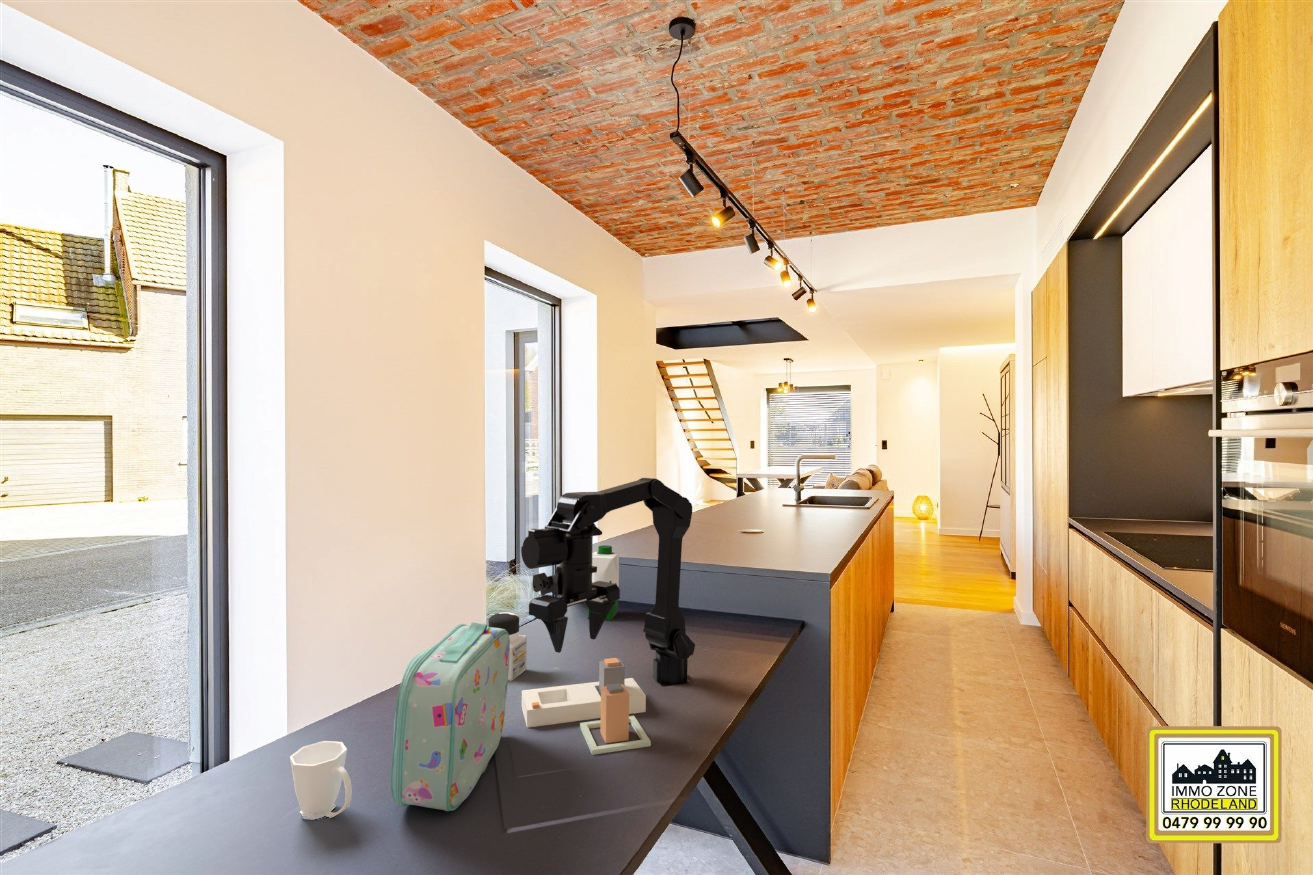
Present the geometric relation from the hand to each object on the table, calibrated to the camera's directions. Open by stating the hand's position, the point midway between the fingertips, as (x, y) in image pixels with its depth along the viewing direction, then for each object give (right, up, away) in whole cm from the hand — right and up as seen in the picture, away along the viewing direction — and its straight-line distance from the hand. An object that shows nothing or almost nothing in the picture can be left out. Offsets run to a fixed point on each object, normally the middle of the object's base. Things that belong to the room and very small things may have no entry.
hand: (576, 645), depth 114 cm
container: (-19, -13, +20) cm, 31 cm away
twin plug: (+6, -13, +4) cm, 15 cm away
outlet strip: (+1, -13, +3) cm, 14 cm away
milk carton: (-1, -14, +65) cm, 67 cm away
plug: (+8, -13, -8) cm, 17 cm away
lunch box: (-16, -13, -19) cm, 28 cm away
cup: (-30, -13, -30) cm, 45 cm away
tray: (+8, -13, -8) cm, 17 cm away
